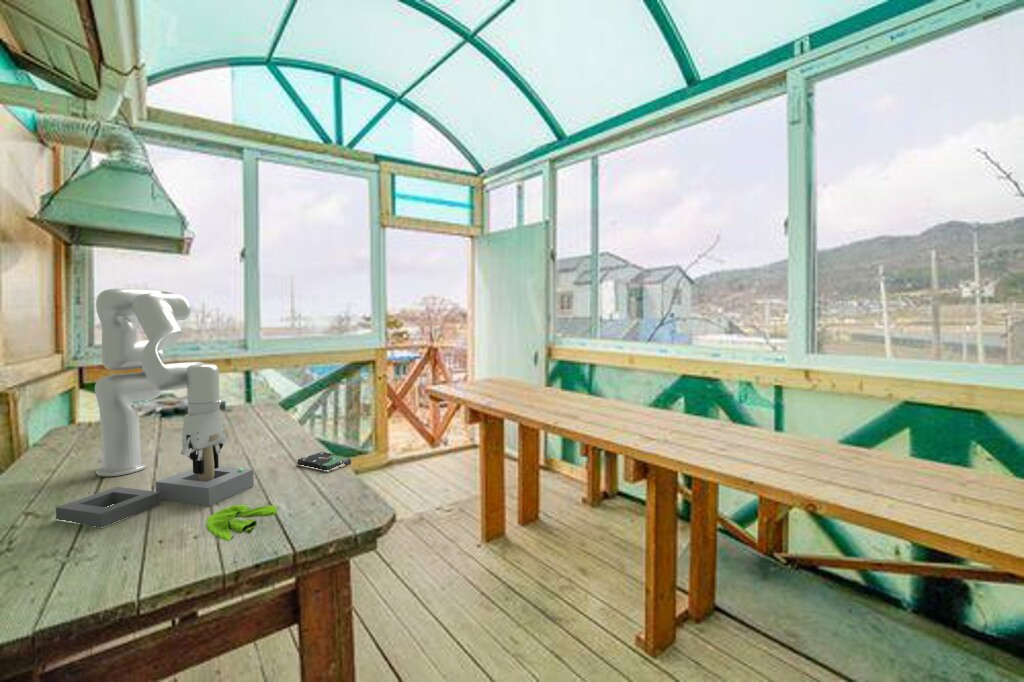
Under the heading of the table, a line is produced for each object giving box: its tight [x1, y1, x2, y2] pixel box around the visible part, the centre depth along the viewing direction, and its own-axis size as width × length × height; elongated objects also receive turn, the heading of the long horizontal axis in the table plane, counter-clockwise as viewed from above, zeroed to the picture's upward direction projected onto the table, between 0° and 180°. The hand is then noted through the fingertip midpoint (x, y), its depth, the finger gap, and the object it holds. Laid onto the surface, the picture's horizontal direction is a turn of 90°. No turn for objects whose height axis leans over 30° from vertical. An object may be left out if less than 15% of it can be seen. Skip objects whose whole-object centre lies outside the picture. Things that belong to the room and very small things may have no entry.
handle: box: [198, 434, 219, 482], centre depth 130 cm, size 5×6×15 cm
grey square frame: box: [55, 486, 161, 528], centre depth 117 cm, size 15×14×4 cm
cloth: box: [205, 504, 278, 542], centre depth 113 cm, size 20×22×2 cm
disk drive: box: [297, 451, 352, 470], centre depth 156 cm, size 10×3×15 cm
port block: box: [155, 465, 255, 507], centre depth 131 cm, size 18×15×6 cm
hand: (206, 470), depth 131 cm, fingers closed on handle, 4 cm apart
